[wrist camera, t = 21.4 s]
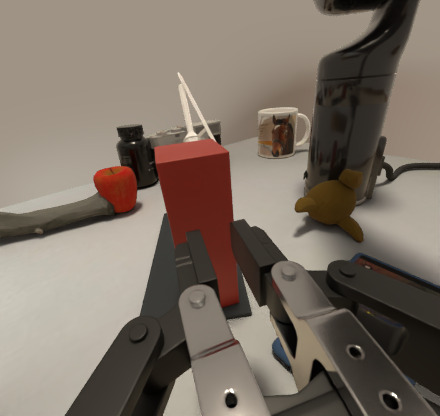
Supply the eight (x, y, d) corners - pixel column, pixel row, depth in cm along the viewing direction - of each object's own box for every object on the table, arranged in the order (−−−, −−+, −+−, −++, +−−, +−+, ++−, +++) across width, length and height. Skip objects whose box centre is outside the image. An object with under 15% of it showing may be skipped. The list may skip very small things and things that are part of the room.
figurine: (294, 183, 32) (289, 211, 28) (355, 156, 27) (360, 184, 23) (321, 221, 34) (321, 252, 30) (382, 203, 29) (391, 236, 25)
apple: (142, 197, 43) (131, 159, 40) (143, 211, 38) (131, 169, 35) (107, 204, 42) (93, 166, 38) (103, 220, 37) (86, 177, 33)
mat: (225, 208, 37) (224, 206, 37) (251, 315, 20) (251, 312, 20) (164, 215, 37) (164, 213, 37) (137, 332, 19) (136, 329, 19)
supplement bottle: (162, 182, 49) (151, 124, 44) (130, 191, 46) (114, 129, 41) (152, 175, 55) (141, 122, 49) (123, 182, 51) (108, 126, 46)
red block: (239, 303, 21) (229, 151, 14) (191, 317, 20) (155, 163, 13) (225, 269, 25) (212, 138, 18) (184, 280, 24) (153, 146, 17)
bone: (-48, 258, 31) (-80, 222, 28) (-21, 233, 37) (-46, 200, 34) (120, 219, 37) (108, 185, 34) (121, 202, 42) (111, 172, 39)
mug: (269, 146, 69) (270, 107, 64) (309, 150, 62) (313, 106, 57) (251, 156, 62) (250, 112, 57) (294, 161, 55) (297, 112, 50)
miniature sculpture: (142, 97, 50) (185, 193, 43) (166, 63, 45) (218, 165, 38) (164, 107, 55) (206, 194, 48) (187, 77, 50) (237, 169, 43)
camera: (168, 188, 46) (157, 138, 42) (148, 175, 55) (137, 132, 50) (242, 163, 56) (240, 121, 52) (215, 155, 65) (211, 118, 60)
